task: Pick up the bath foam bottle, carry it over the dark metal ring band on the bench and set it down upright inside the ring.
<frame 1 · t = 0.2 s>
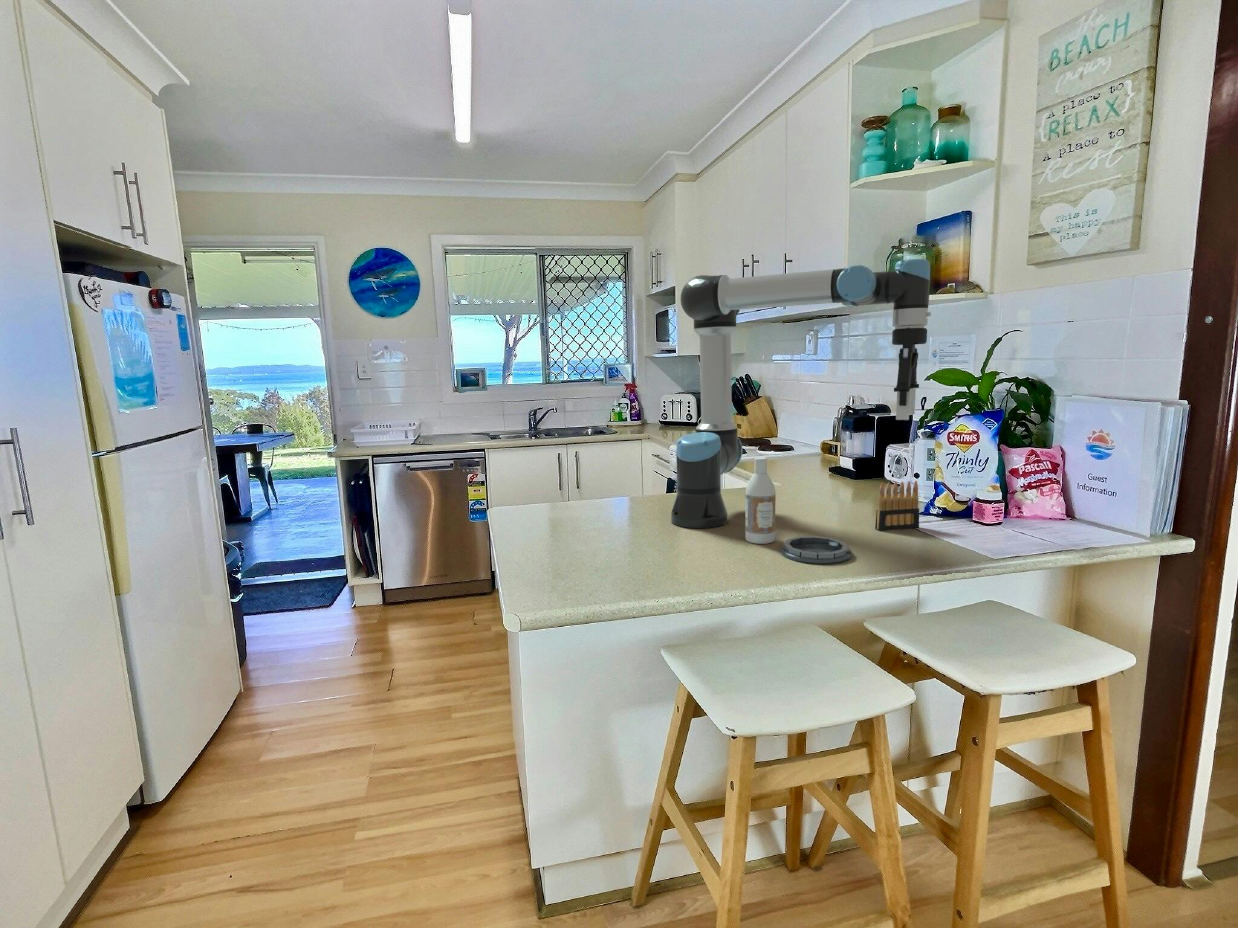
hand: (905, 417, 151), 28 cm above the table, fingers open, 13 cm apart
ring tray: (815, 553, 138), on the table
ammunition clip: (896, 529, 155), on the table
bath foam: (760, 541, 149), on the table
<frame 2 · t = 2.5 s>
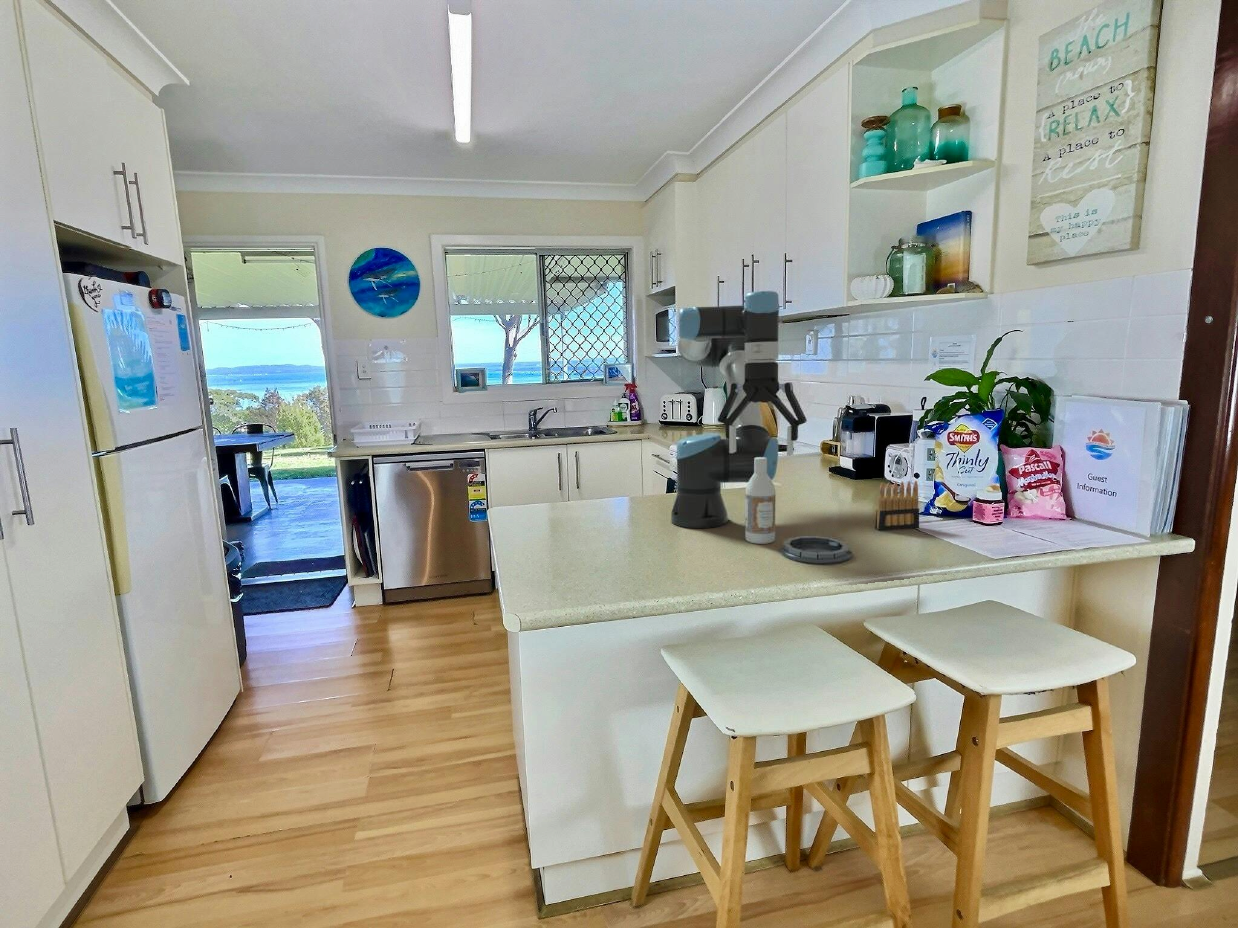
hand: (760, 453, 145), 21 cm above the table, fingers open, 13 cm apart
nothing on the table moved.
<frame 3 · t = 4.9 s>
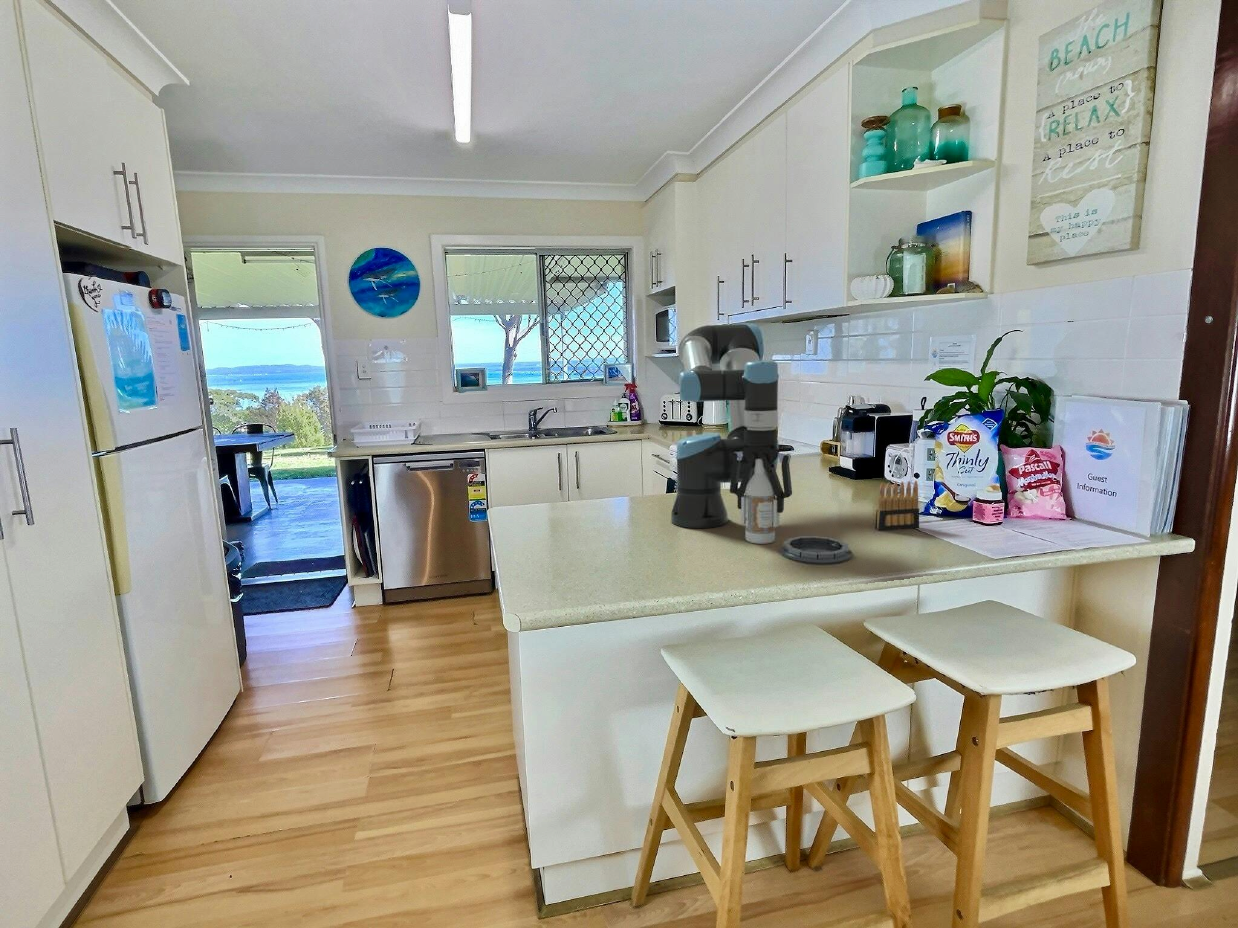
hand: (760, 523, 148), 4 cm above the table, fingers closed on bath foam, 7 cm apart
bath foam: (760, 541, 149), on the table, touching gripper
everything else where it was.
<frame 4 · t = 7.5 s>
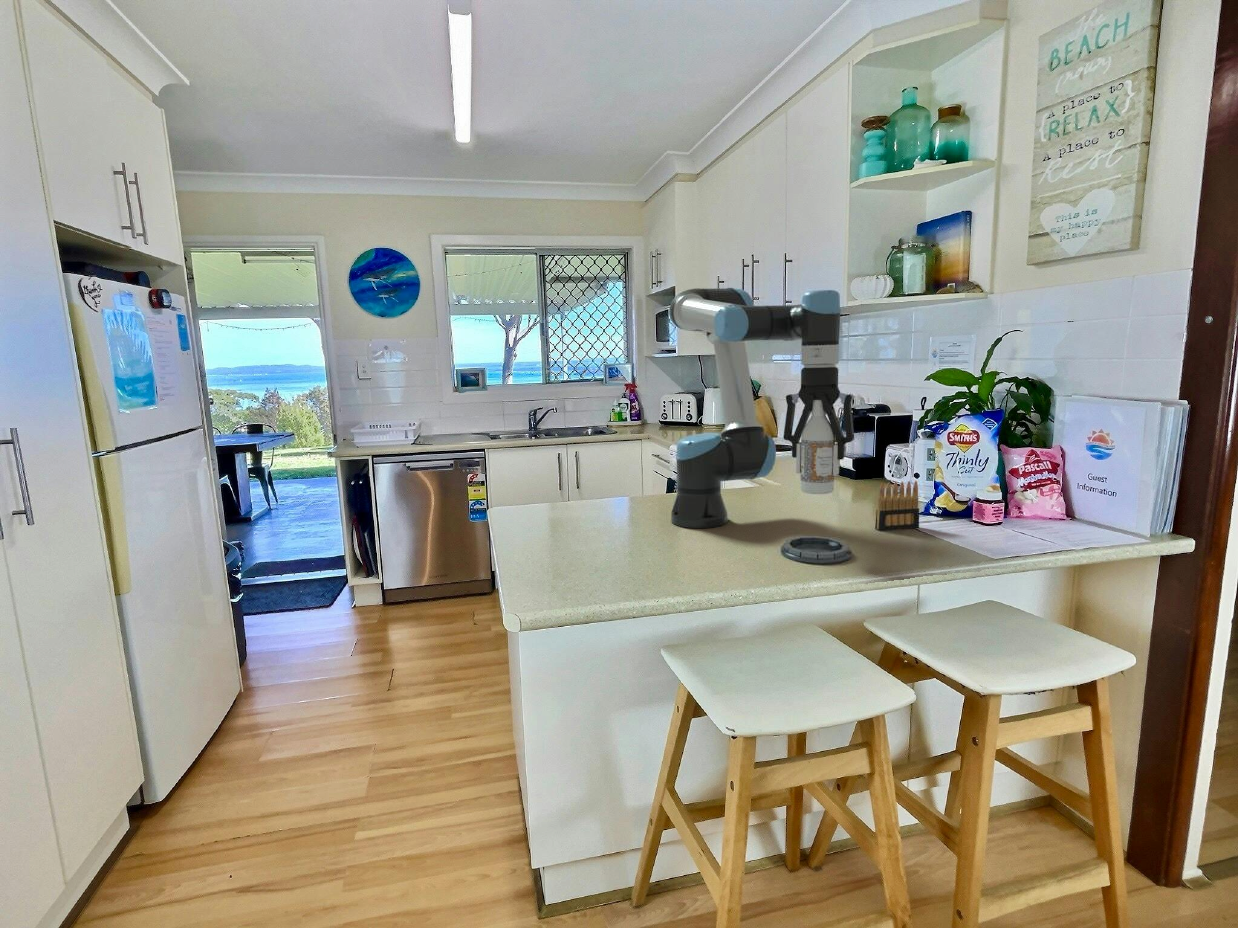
hand: (817, 473, 135), 18 cm above the table, fingers closed on bath foam, 7 cm apart
bath foam: (816, 492, 135), point 14 cm above the table, touching gripper
everything else where it was.
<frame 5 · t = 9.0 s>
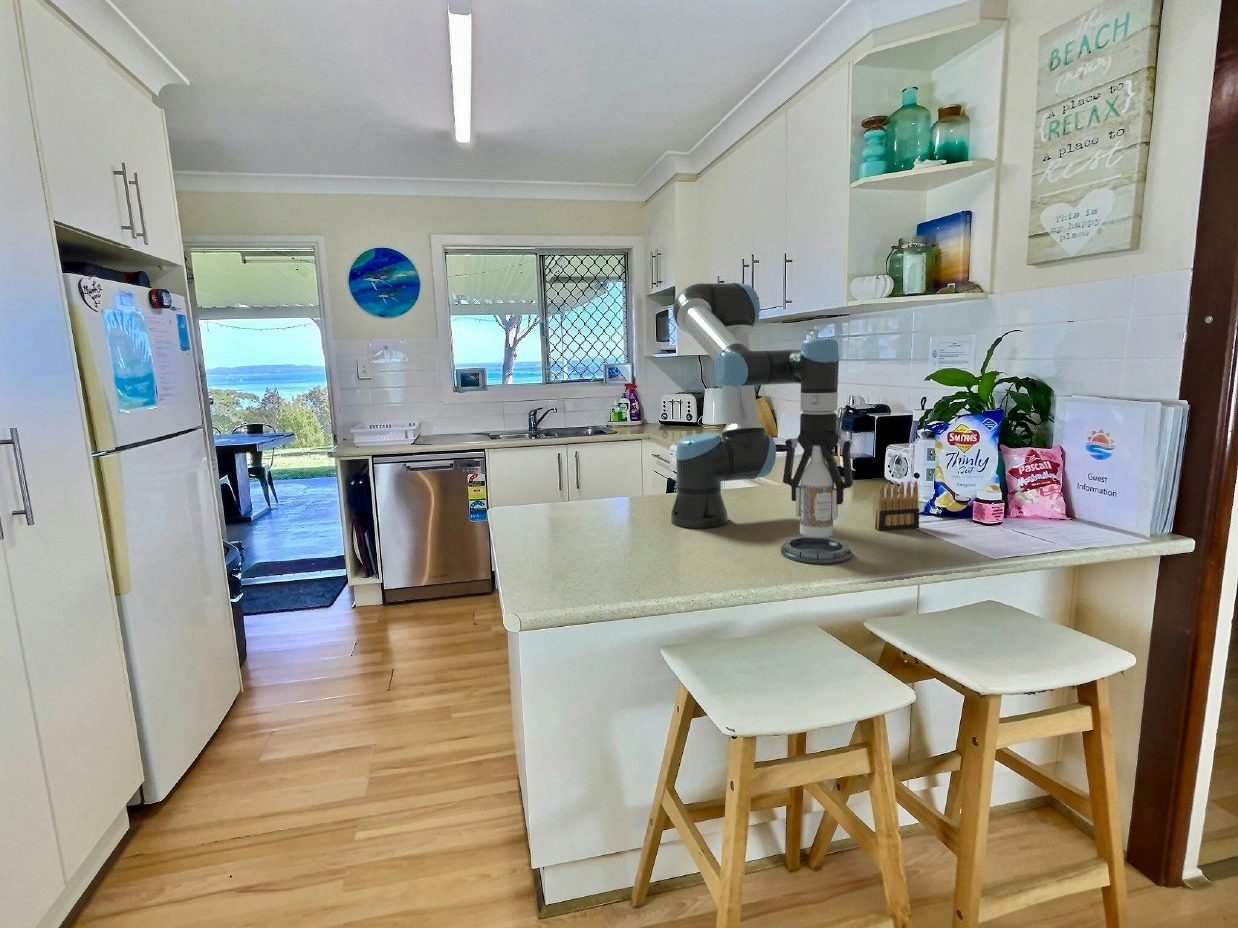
hand: (816, 516, 136), 8 cm above the table, fingers closed on bath foam, 7 cm apart
bath foam: (816, 535, 137), point 4 cm above the table, touching gripper
everything else where it was.
when the fingers open (6 cm above the table, at t = 10.2 s): bath foam drops 2 cm, resting on ring tray.
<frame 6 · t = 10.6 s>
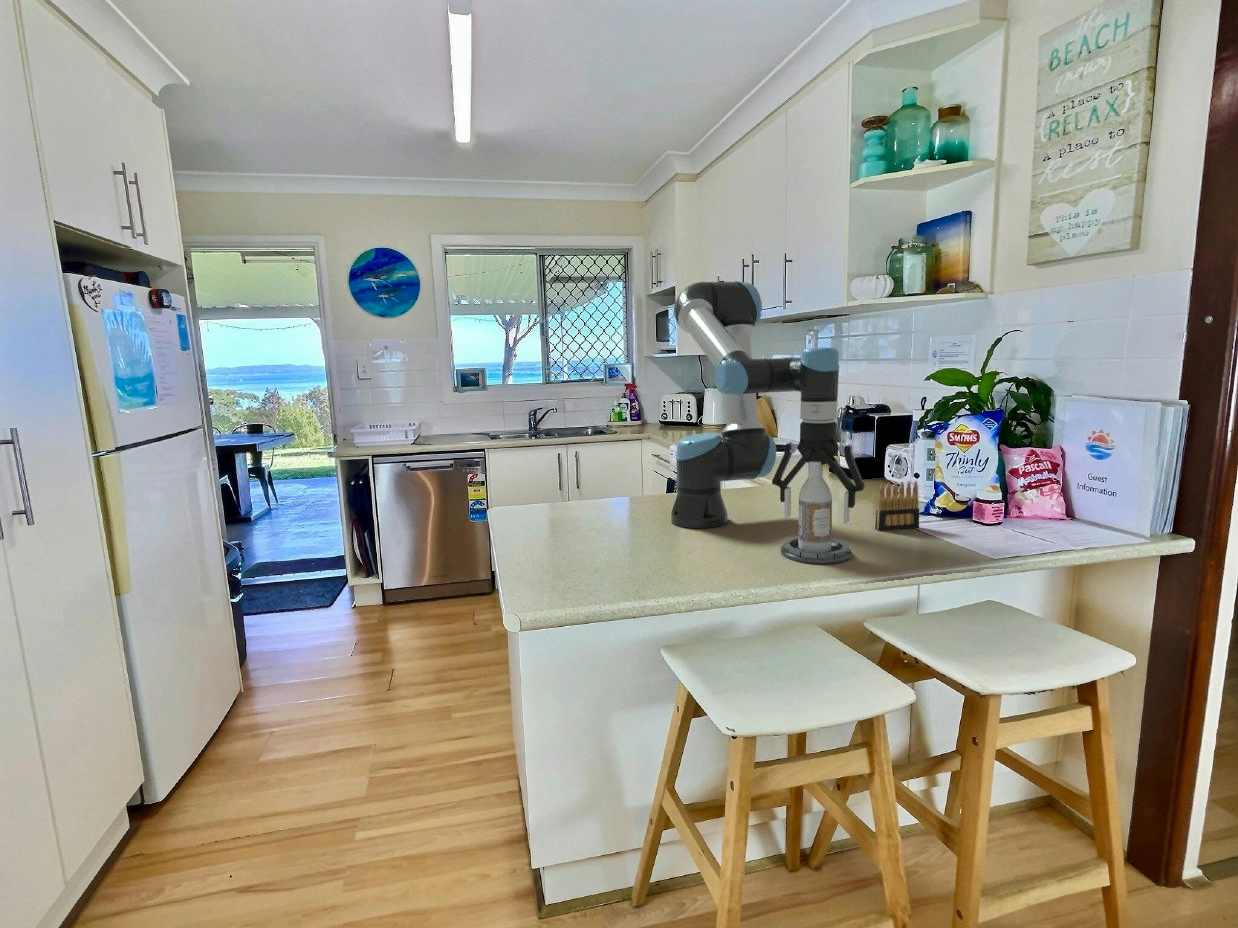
hand: (816, 519, 137), 8 cm above the table, fingers open, 12 cm apart
bath foam: (814, 550, 138), point 1 cm above the table, touching ring tray
everything else where it was.
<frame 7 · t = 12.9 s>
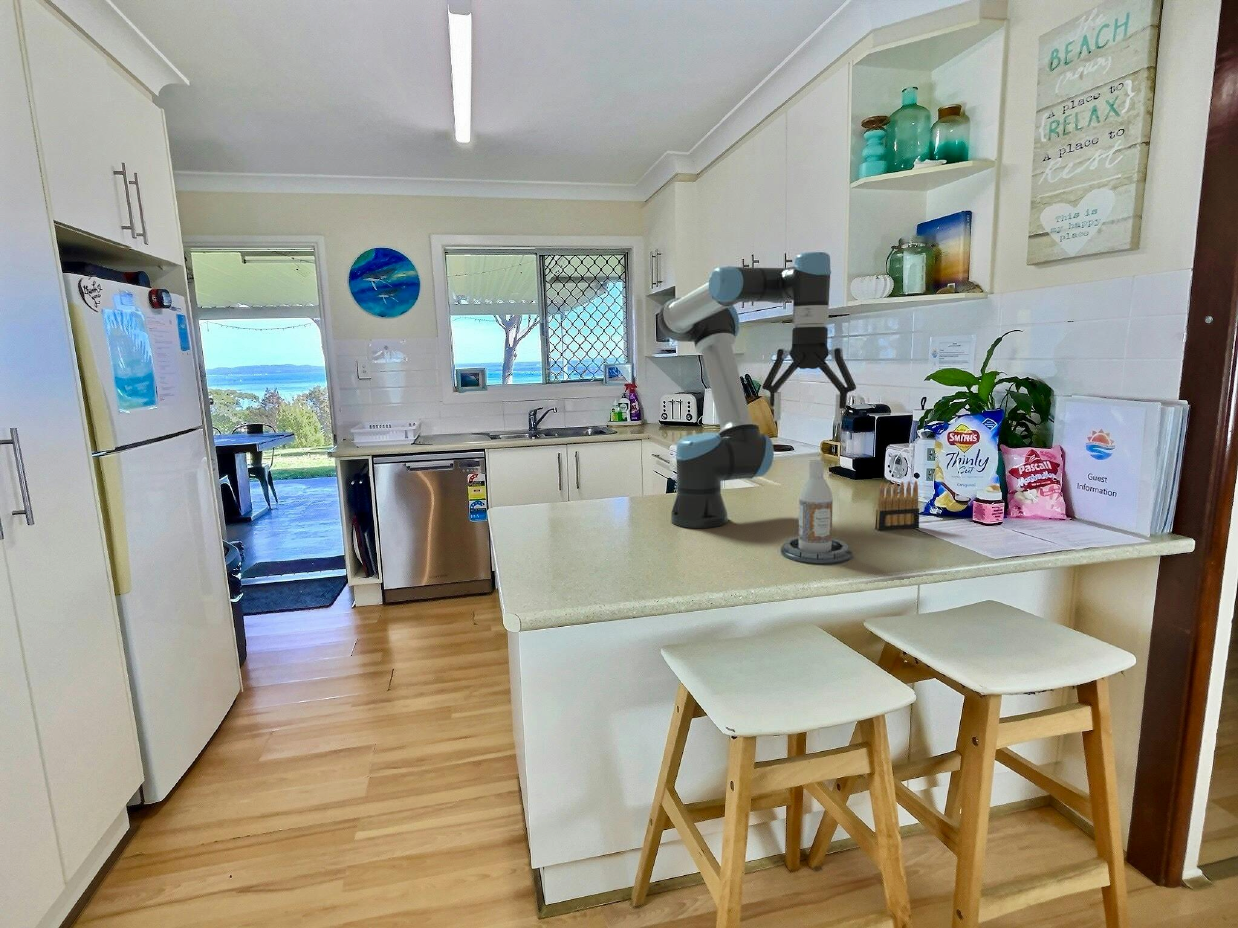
hand: (806, 422, 141), 28 cm above the table, fingers open, 13 cm apart
nothing on the table moved.
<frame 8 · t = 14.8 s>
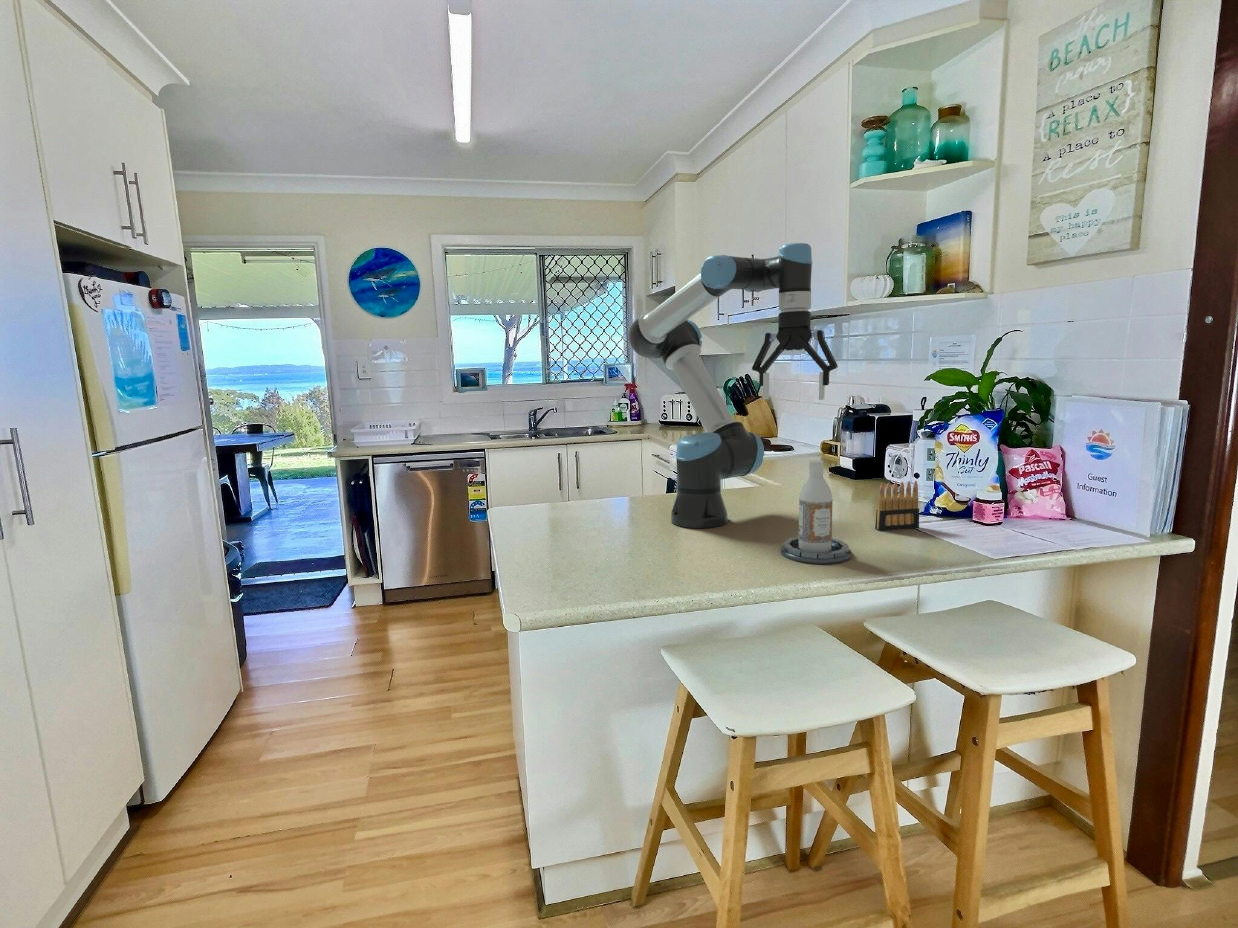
hand: (793, 399, 154), 33 cm above the table, fingers open, 13 cm apart
nothing on the table moved.
at the end: bath foam 0.2 cm from the ring tray (horizontally); bath foam tilted 0°; bath foam point 0.6 cm above the table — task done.
